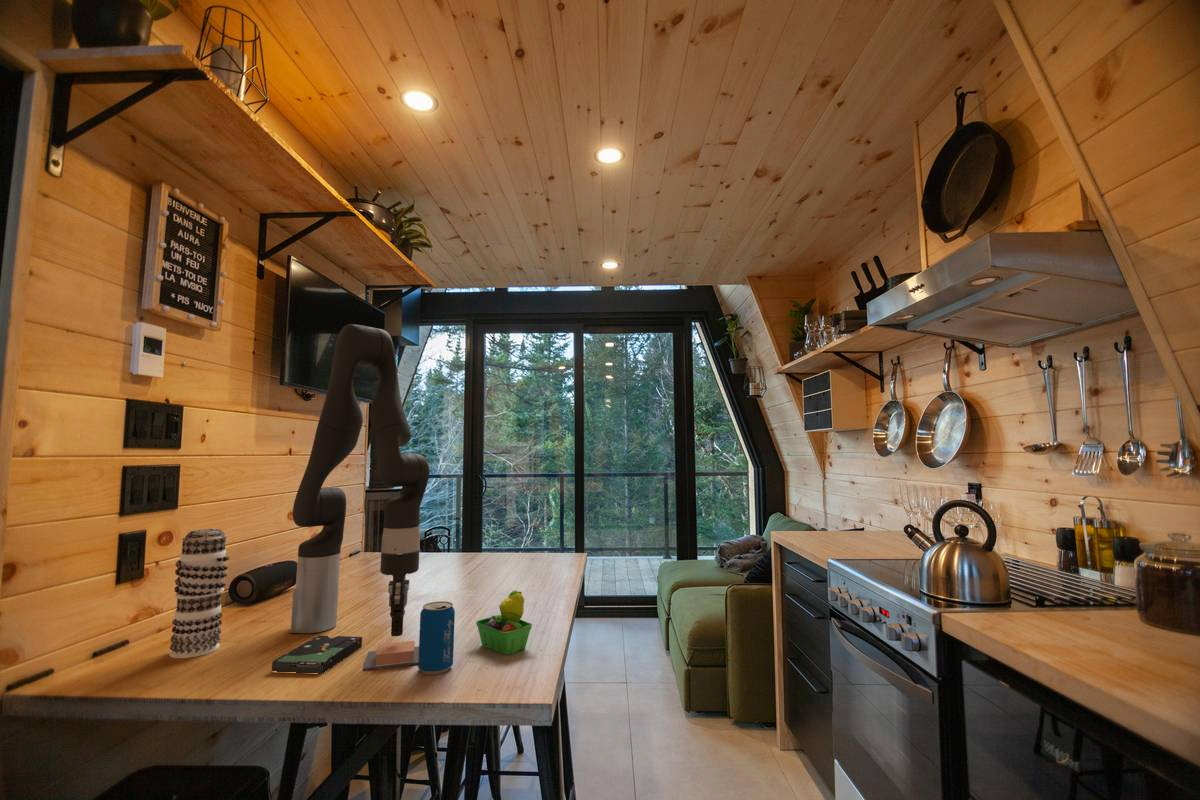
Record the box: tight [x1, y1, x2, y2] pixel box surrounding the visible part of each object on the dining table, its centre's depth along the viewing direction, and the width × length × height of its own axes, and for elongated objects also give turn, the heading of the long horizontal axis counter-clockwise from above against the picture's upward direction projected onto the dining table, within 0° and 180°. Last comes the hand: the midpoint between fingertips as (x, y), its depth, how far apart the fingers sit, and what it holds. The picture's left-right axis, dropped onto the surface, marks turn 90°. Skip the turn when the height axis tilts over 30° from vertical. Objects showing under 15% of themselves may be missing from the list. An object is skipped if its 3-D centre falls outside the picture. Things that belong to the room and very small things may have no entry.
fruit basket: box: [475, 590, 533, 656], centre depth 114 cm, size 11×9×11 cm
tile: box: [375, 640, 416, 667], centre depth 105 cm, size 7×2×6 cm
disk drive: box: [271, 635, 363, 675], centre depth 106 cm, size 10×3×15 cm
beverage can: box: [417, 600, 456, 675], centre depth 102 cm, size 6×6×12 cm
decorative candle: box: [168, 528, 230, 659], centre depth 111 cm, size 9×9×25 cm
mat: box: [362, 646, 419, 671], centre depth 106 cm, size 11×9×1 cm
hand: (396, 635), depth 107 cm, fingers closed
